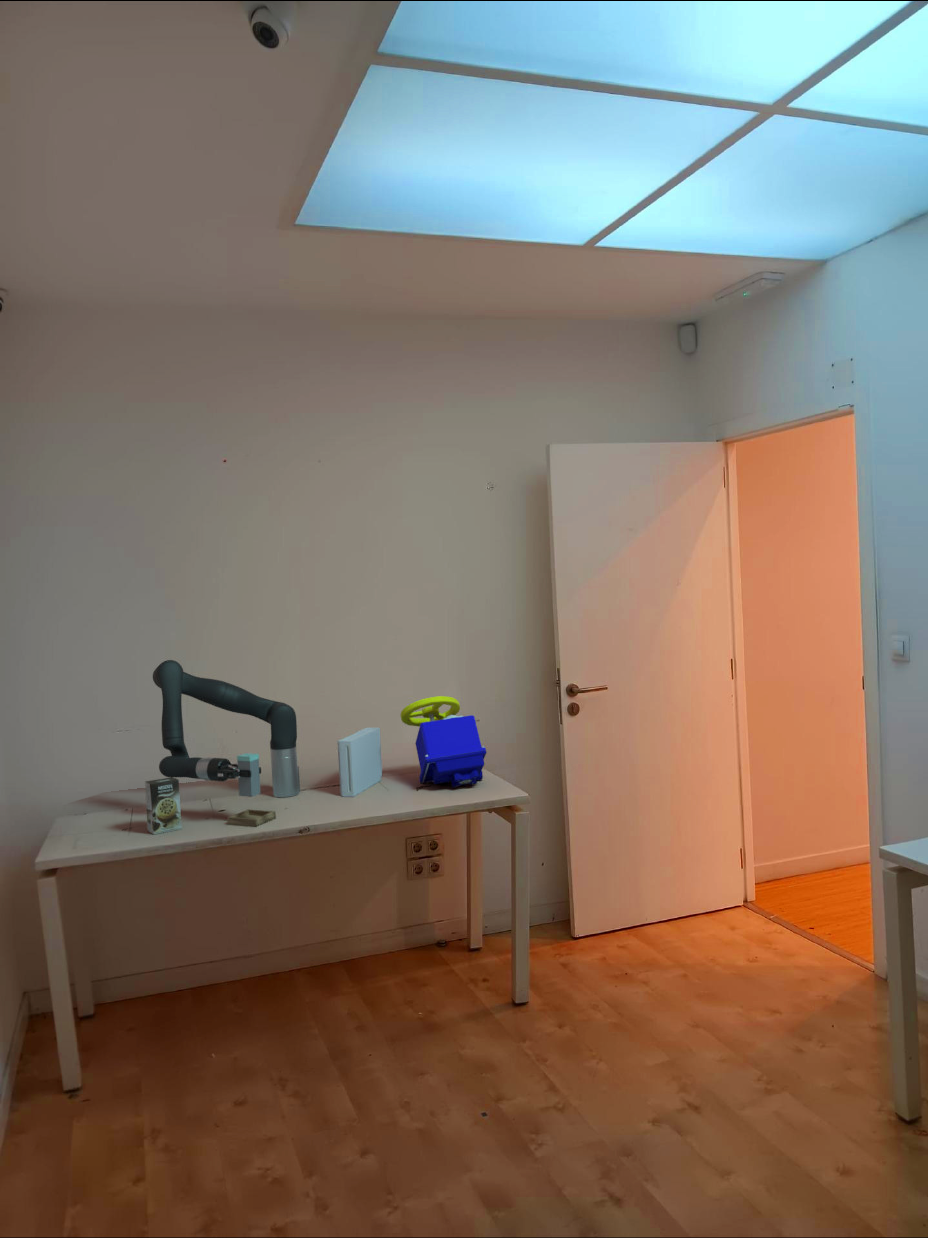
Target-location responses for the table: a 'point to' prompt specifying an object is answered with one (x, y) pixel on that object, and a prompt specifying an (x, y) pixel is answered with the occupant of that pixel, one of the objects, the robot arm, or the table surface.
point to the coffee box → (163, 805)
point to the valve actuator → (446, 742)
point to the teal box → (252, 783)
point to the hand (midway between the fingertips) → (255, 772)
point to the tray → (251, 818)
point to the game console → (359, 761)
